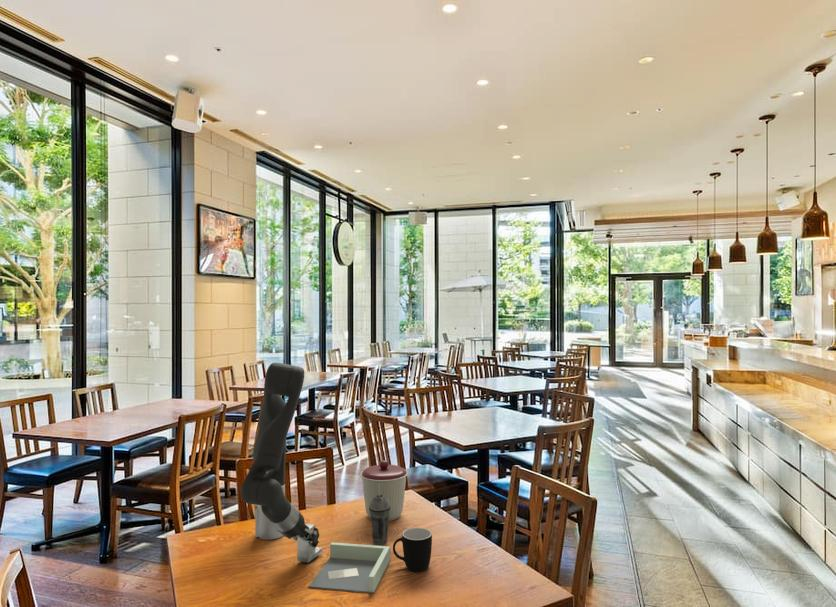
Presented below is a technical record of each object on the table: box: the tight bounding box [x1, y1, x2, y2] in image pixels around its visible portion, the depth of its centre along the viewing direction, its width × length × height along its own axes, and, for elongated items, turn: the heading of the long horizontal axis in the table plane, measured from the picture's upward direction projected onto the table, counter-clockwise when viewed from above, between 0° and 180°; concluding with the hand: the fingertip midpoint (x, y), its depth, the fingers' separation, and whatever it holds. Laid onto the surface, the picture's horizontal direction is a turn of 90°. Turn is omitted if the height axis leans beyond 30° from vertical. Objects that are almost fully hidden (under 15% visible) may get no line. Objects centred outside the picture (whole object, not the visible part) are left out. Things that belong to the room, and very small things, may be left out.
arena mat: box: [308, 557, 391, 594], centre depth 154 cm, size 19×19×1 cm
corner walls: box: [329, 541, 391, 594], centre depth 155 cm, size 19×19×4 cm
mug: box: [392, 527, 433, 573], centre depth 158 cm, size 12×9×10 cm
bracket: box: [296, 522, 323, 564], centre depth 164 cm, size 8×4×10 cm, turn 158°
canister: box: [359, 459, 409, 522], centre depth 198 cm, size 18×18×21 cm
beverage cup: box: [369, 483, 390, 546], centre depth 176 cm, size 7×7×20 cm
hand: (309, 543), depth 164 cm, fingers closed on bracket, 4 cm apart
